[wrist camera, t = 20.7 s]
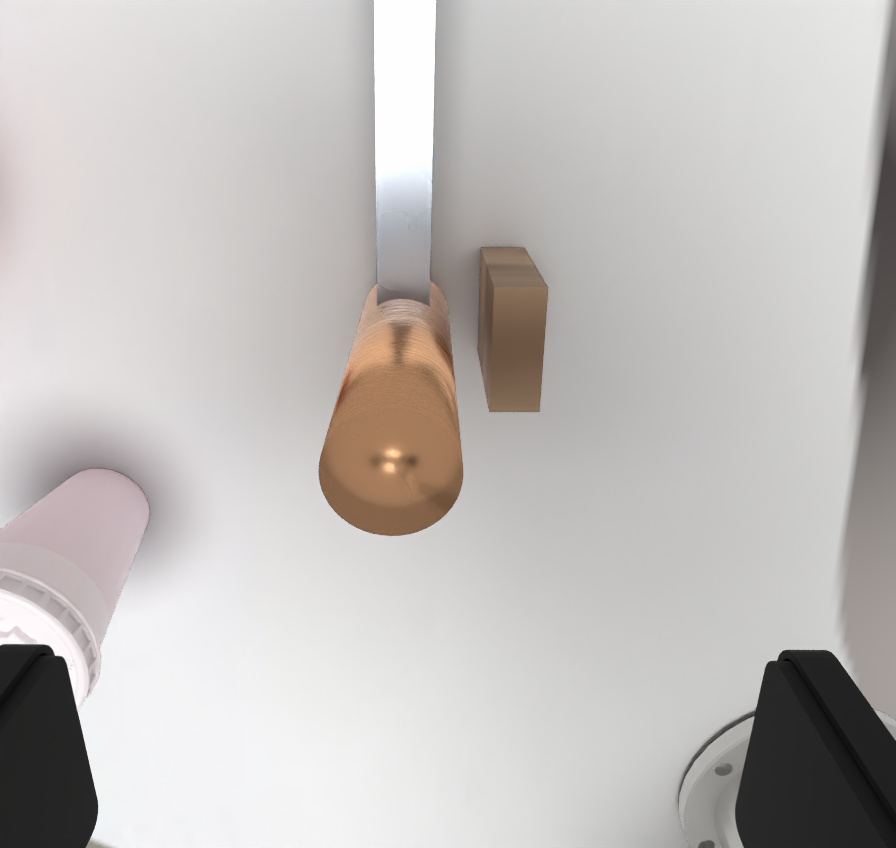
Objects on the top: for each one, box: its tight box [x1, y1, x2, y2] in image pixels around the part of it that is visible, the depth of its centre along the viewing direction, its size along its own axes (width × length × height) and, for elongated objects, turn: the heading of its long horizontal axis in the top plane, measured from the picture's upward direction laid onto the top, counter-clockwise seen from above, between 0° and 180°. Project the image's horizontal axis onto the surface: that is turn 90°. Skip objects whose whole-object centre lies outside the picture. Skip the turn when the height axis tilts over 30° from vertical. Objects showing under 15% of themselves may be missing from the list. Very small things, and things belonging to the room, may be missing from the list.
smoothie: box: [0, 468, 150, 711], centre depth 25 cm, size 6×6×14 cm
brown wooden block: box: [478, 247, 548, 412], centre depth 26 cm, size 4×2×6 cm, turn 179°
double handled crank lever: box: [319, 0, 463, 536], centre depth 19 cm, size 17×3×13 cm, turn 178°
